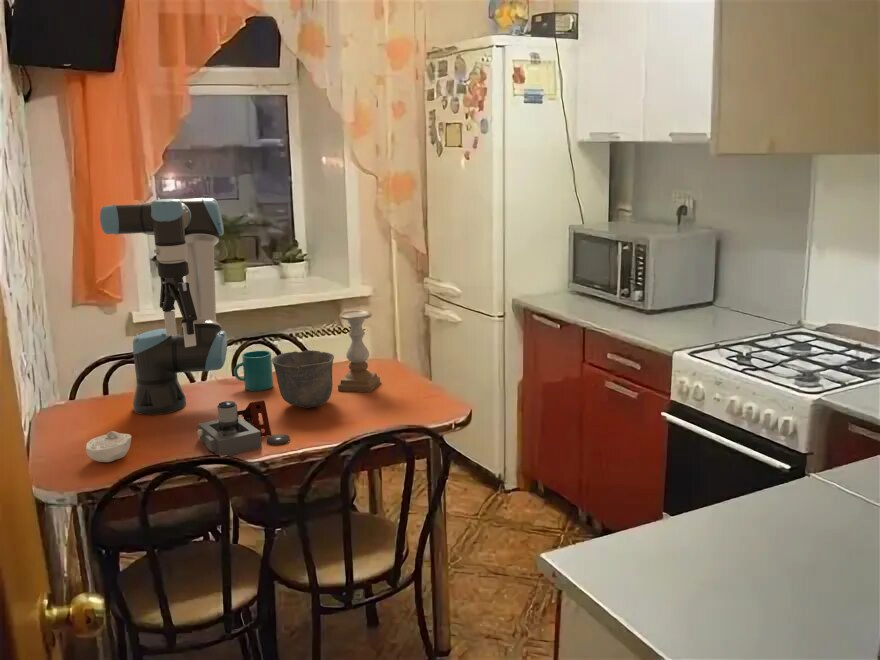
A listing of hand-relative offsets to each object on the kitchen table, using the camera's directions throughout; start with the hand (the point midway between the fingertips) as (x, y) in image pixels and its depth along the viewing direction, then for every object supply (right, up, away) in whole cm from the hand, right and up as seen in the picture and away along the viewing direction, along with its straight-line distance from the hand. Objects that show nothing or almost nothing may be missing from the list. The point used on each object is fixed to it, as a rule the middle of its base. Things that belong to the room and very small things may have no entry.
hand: (180, 340), depth 218 cm
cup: (+8, -16, +50) cm, 53 cm away
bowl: (+28, -20, +31) cm, 46 cm away
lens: (+12, -25, +1) cm, 28 cm away
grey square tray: (+13, -27, +2) cm, 30 cm away
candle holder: (+42, -16, +48) cm, 66 cm away
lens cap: (+25, -27, +3) cm, 37 cm away
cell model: (-16, -30, -7) cm, 35 cm away
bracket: (+14, -25, +13) cm, 31 cm away
